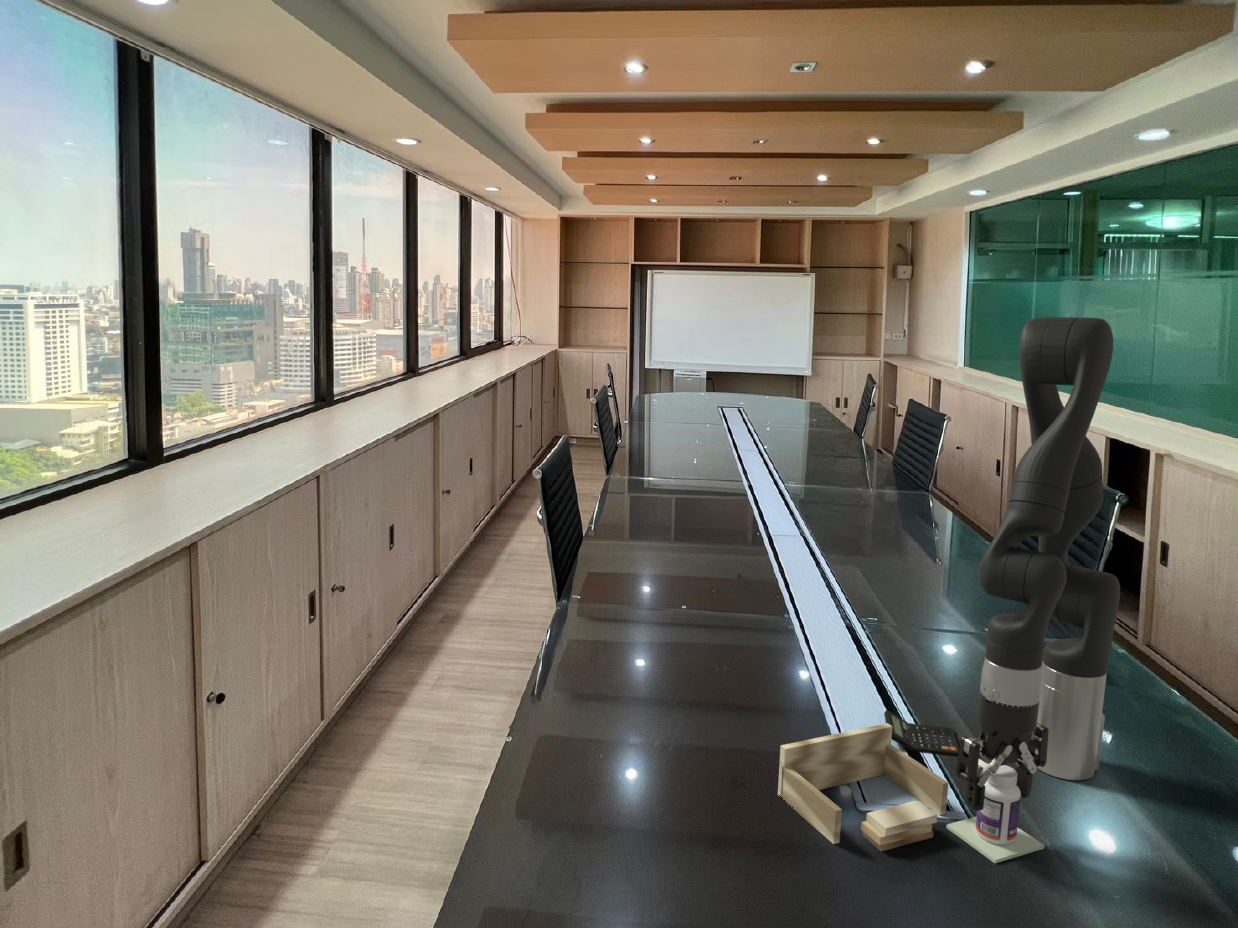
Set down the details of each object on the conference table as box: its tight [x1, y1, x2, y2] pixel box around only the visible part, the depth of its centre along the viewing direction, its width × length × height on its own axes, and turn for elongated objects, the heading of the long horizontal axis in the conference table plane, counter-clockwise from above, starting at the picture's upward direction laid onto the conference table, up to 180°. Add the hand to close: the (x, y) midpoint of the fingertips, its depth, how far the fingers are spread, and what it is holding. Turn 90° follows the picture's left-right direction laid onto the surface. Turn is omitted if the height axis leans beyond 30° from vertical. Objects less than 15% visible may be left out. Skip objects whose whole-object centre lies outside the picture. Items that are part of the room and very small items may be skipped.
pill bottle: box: [975, 764, 1022, 845], centre depth 128 cm, size 5×5×10 cm
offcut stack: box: [860, 799, 938, 852], centre depth 129 cm, size 10×4×4 cm, turn 114°
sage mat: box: [945, 816, 1045, 864], centre depth 129 cm, size 9×9×1 cm
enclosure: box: [777, 722, 950, 845], centre depth 136 cm, size 20×14×8 cm
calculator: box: [883, 709, 960, 757], centre depth 158 cm, size 9×12×3 cm
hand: (998, 801), depth 128 cm, fingers open, 8 cm apart
